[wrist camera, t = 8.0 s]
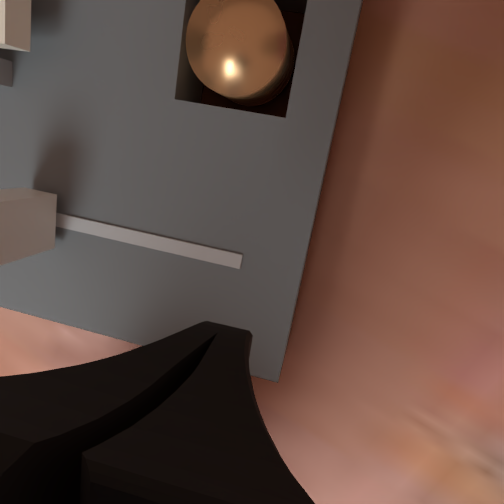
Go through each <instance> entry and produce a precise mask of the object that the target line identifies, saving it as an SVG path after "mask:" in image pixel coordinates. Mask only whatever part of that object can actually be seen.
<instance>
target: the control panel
mask: <svg viewBox="0 0 504 504" xmlns="http://www.w3.org/2000/svg"><path fill="white" fill-rule="evenodd" d="M199 2H200V0H31V38H30V52H27V51H19V50H11V49H3V48H0V189H11V188H22V187H25V188H29V189H34V190H39V191H43V192H48V193H52V194H57V206H56V229H55V248H54V249H51V250H47V251H44V252H41V253H38V254H35V255H32V256H29V257H25V258H22V259H19V260H16V261H13V262H10V263H7V264H3V265H0V307H3V308H7V309H10V310H14V311H18V312H21V313H25V314H29V315H32V316H36V317H40V318H43V319H47V320H51V321H54V322H58V323H62V324H65V325H69V326H73V327H76V328H80V329H84V330H87V331H91V332H94V333H98V334H102V335H105V336H109V337H113V338H116V339H120V340H124V341H127V342H131V343H135V344H138V345H142V346H144V345H147V344H150V343H153V342H155V341H158V340H160V339H163V338H165V337H168V336H170V335H172V334H175V333H177V332H179V331H182V330H184V329H186V328H189V327H191V326H193V325H196V324H198V323H201V322H204V321H210V322H214V323H218V324H223V325H227V326H231V327H236V328H240V329H245V330H249V331H250V332H251V334H252V335H253V338H252V344H251V350H250V356H249V369H250V375H251V376H255V377H259V378H262V379H266V380H270V381H273V382H277V383H278V380H279V377H280V373H281V369H282V365H283V361H284V357H285V353H286V349H287V344H288V340H289V335H290V331H291V326H292V322H293V317H294V312H295V308H296V303H297V299H298V294H299V290H300V285H301V281H302V276H303V271H304V267H305V262H306V258H307V253H308V249H309V244H310V240H311V235H312V230H313V226H314V221H315V217H316V212H317V208H318V203H319V199H320V194H321V189H322V185H323V180H324V176H325V171H326V167H327V162H328V158H329V153H330V148H331V144H332V139H333V135H334V130H335V126H336V121H337V117H338V112H339V107H340V103H341V98H342V94H343V89H344V85H345V80H346V76H347V71H348V66H349V62H350V57H351V53H352V48H353V44H354V39H355V35H356V30H357V25H358V21H359V16H360V12H361V7H362V3H363V0H274V2H275V3H276V4H277V6H278V8H279V10H283V11H291V12H299V13H305V16H304V22H303V27H302V33H301V38H300V43H299V49H298V54H297V59H296V65H295V70H294V75H293V81H292V86H291V92H290V97H289V102H288V108H287V113H286V118H283V117H277V116H271V115H266V114H260V113H254V112H248V111H242V110H236V109H230V108H224V107H218V106H212V105H206V104H201V96H202V89H203V83H202V82H201V81H200V80H199V78H198V77H197V76H196V74H195V73H194V71H193V69H192V68H191V65H190V63H189V60H188V56H187V51H186V31H187V26H188V23H189V19H190V17H191V15H192V12H193V11H194V9H195V7H196V6H197V4H198V3H199Z"/></svg>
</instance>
